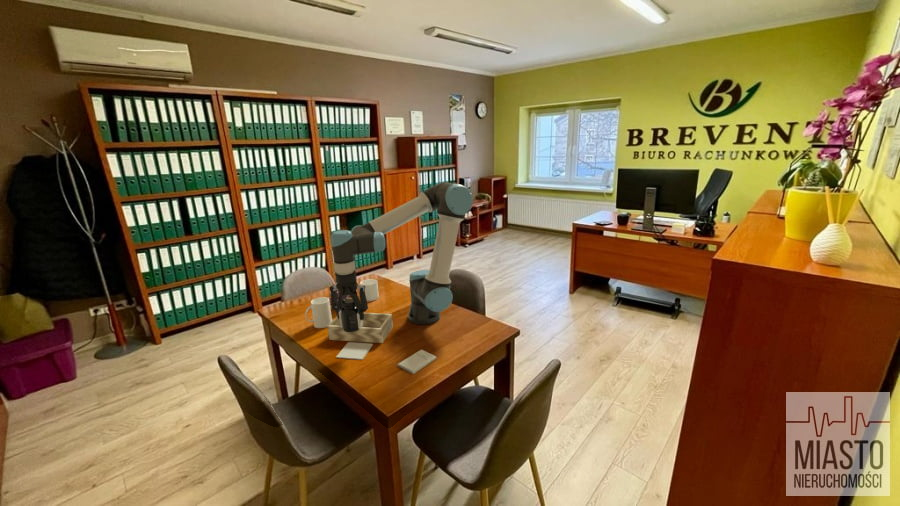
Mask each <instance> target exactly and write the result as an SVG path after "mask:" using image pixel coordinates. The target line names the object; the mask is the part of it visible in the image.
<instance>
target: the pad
mask: <svg viewBox="0 0 900 506" xmlns="http://www.w3.org/2000/svg"><path fill="white" fill-rule="evenodd" d="M373 346H374V344H373V343H370V342H355V341H347V343H346V344H345V345H344V347H343V348H342V349H341V350H340V351H339V353H338V354H337V355H336V356H335V357H336V358H338V359H346V360H347V359H349V360H360V361H362V360H364V358H365V357H366V355H367V354H368V353H369V351H370V350H371V348H372V347H373Z"/></svg>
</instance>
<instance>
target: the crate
mask: <svg viewBox="0 0 900 506" xmlns="http://www.w3.org/2000/svg"><path fill="white" fill-rule="evenodd" d="M393 321H394V319H393V314H392V313H380V312H379V313H378V312H377V313H376V312H364V319H363V326H362V327H361V328H360V329H359V330H358V331H355V332H350V333H349V332H345V331H344V330H343V327H340V319H338V318H337V316H336V317H335V318H334V319H332V322H331V323H330V324H329V325H328V326H327V327H326V328H327V332H328V333H327V335H328V340H329V341H342V342H343V341H345V342H355V343H370V344H373V343H374V344H383V343H384V342H385V340H386V338H387V337H388V336H389V334H390V332H391V331H392V329H393V328H394V323H393Z"/></svg>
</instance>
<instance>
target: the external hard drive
mask: <svg viewBox="0 0 900 506" xmlns="http://www.w3.org/2000/svg"><path fill="white" fill-rule="evenodd" d="M436 359H437V356H436V355H435V354H432V353H429V352H428V351H425V350H424V349H420V350H418V351H417V352H415V353H413V354H412V355H410V356H408V357H407V358H405V359H403V360H402V361H400V362H399V363H397V367H399V368H401V369H403V370H404V371H405V372H406V371H407V372H408V373H410V374H412V375H414V374H416V373H417V372H418V371H420V370H422V369H423V368H425V367H427V366H428V365H429V364H430V363H432V362H433V361H435V360H436Z"/></svg>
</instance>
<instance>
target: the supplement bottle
mask: <svg viewBox="0 0 900 506" xmlns="http://www.w3.org/2000/svg"><path fill="white" fill-rule="evenodd" d="M357 313H358V310H357V308H356V306H355V303H354V301H353V299H352V298H350V299H346V300H344V301H343V308H342V309H341V316H342V324H343V330H344V331H345V332H349V333H350V332H355V331H358V330H359V329H358V320H357Z"/></svg>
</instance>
